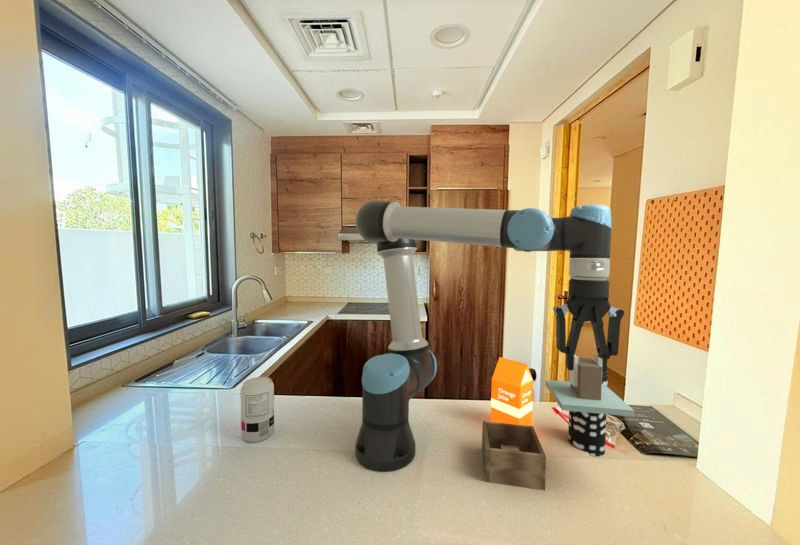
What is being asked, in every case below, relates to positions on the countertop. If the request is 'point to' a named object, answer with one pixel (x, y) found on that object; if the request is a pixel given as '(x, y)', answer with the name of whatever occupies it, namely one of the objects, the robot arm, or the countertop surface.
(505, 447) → the metal cube
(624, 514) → the countertop surface
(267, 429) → the supplement can
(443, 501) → the countertop surface
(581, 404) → the lid
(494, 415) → the orange juice
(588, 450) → the white-spotted black cylinder
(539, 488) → the storage box
